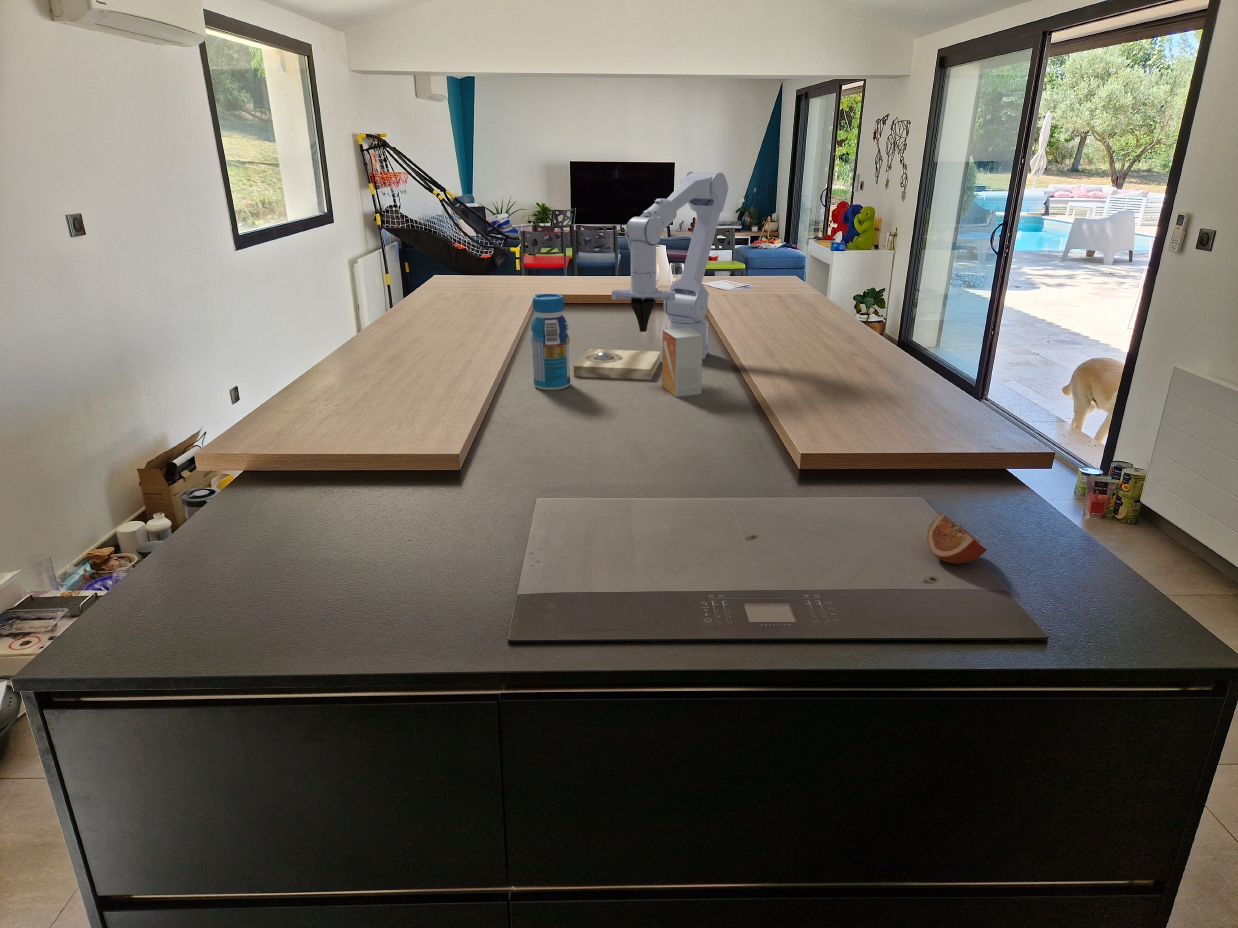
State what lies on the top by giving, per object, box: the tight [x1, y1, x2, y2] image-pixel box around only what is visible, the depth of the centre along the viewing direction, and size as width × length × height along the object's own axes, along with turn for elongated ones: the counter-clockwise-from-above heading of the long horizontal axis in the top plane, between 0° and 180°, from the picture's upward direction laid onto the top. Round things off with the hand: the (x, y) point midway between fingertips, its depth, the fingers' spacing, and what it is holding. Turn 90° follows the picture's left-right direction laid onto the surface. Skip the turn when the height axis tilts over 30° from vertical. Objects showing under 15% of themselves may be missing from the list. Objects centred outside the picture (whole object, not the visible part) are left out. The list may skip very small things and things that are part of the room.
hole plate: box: [573, 348, 662, 381], centre depth 194 cm, size 18×16×2 cm
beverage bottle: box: [530, 293, 571, 391], centre depth 178 cm, size 8×8×20 cm
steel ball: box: [595, 352, 612, 361], centre depth 194 cm, size 4×4×4 cm
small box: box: [661, 328, 703, 398], centre depth 175 cm, size 8×6×13 cm
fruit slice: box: [926, 512, 988, 565], centre depth 107 cm, size 8×7×5 cm
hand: (643, 331), depth 190 cm, fingers closed
